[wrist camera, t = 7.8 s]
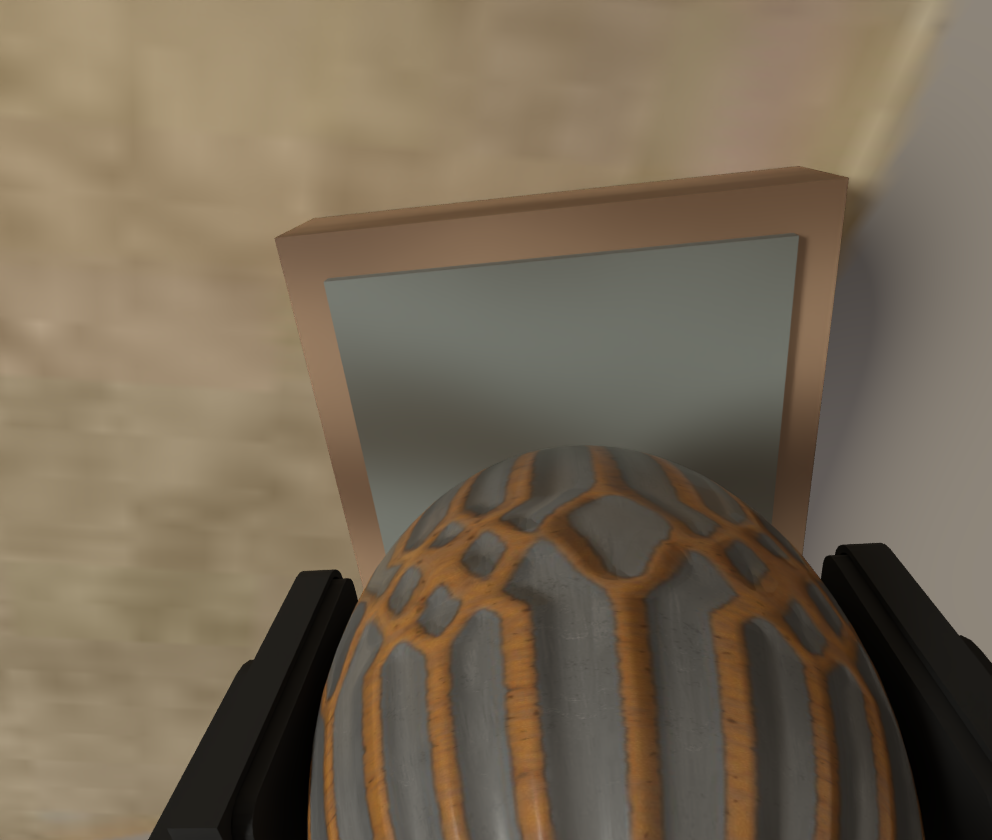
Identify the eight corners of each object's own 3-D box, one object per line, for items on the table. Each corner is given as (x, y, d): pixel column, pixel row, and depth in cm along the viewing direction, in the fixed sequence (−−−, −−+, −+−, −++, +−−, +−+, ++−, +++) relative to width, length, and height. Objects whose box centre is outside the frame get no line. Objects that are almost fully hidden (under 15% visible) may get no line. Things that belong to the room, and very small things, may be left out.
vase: (491, 305, 10) (266, 1217, 2) (863, 494, 11) (1791, 1603, 3) (333, 611, 12) (-20, 1476, 5) (637, 737, 13) (775, 1621, 6)
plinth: (313, 218, 15) (268, 240, 13) (798, 166, 14) (855, 179, 11) (395, 584, 20) (375, 653, 17) (762, 566, 19) (797, 637, 16)
